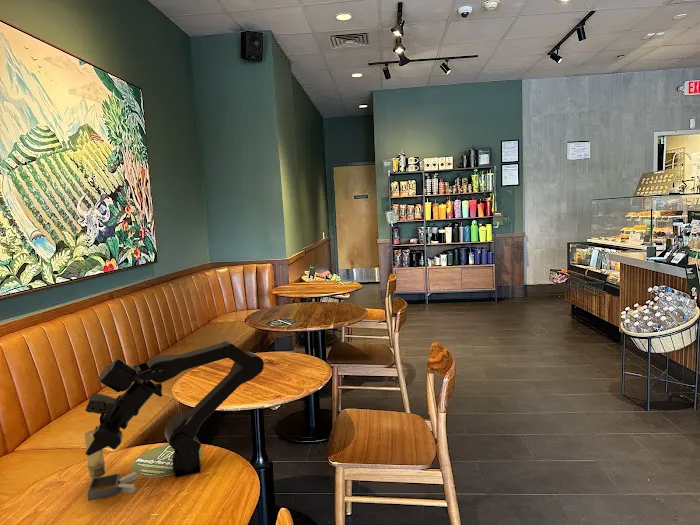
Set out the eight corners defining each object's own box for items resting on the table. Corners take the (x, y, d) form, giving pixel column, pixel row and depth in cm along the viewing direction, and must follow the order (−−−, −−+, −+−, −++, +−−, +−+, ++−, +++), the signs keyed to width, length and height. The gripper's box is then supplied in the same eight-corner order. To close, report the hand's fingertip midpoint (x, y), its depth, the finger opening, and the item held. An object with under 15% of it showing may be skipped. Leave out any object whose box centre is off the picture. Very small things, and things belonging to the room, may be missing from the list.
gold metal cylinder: (107, 468, 117) (102, 428, 116) (103, 476, 114) (99, 434, 112) (91, 471, 116) (86, 430, 115) (87, 479, 113) (82, 437, 112)
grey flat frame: (137, 476, 122) (137, 468, 122) (135, 492, 115) (134, 484, 114) (93, 485, 118) (92, 477, 118) (87, 502, 111) (86, 494, 111)
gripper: (110, 371, 122) (68, 418, 120) (99, 396, 105) (49, 452, 102) (145, 393, 126) (104, 440, 123) (139, 421, 109) (92, 476, 106)
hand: (88, 450), depth 114 cm, fingers closed on gold metal cylinder, 4 cm apart
